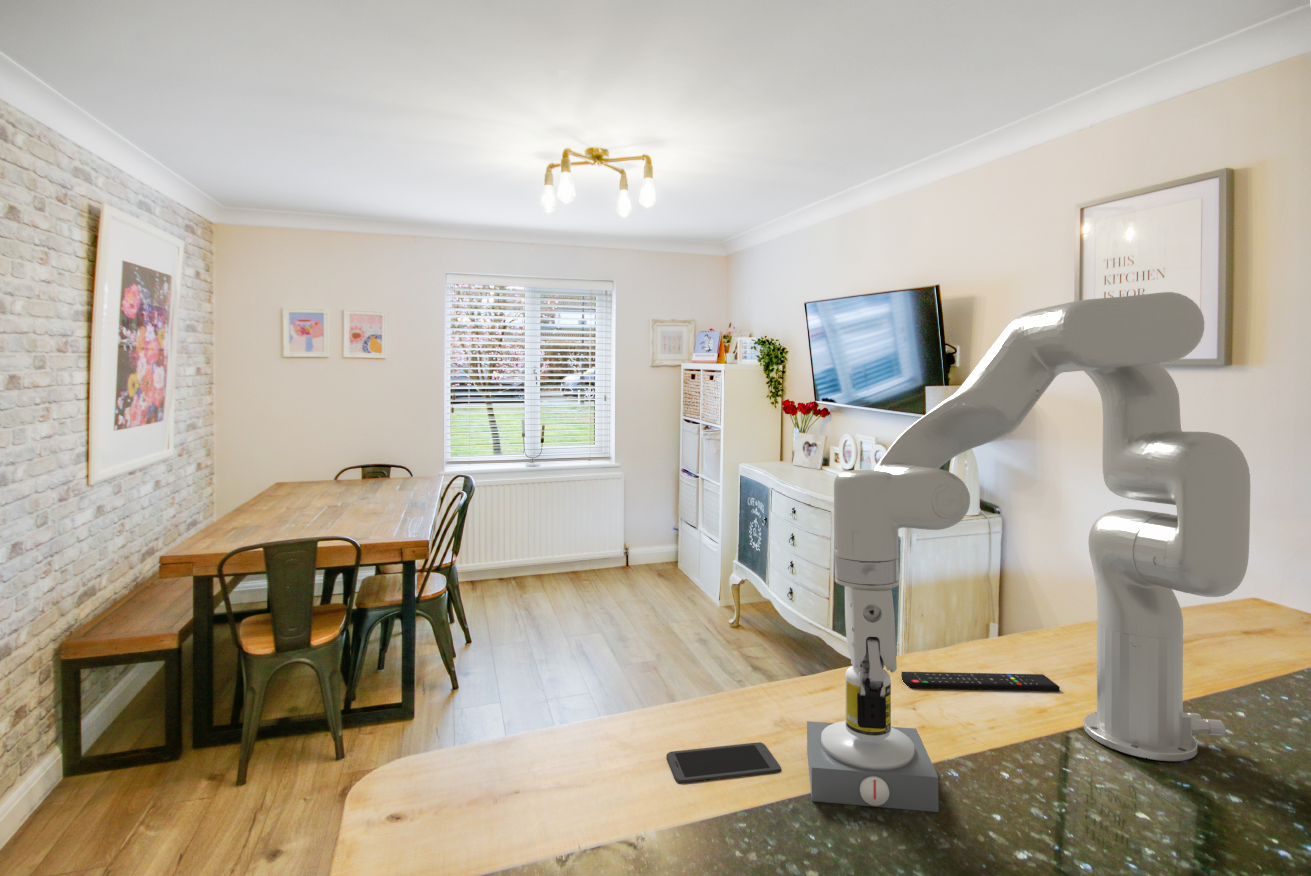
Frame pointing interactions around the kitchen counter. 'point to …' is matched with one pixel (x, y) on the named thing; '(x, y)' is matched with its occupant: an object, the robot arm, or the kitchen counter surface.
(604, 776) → the kitchen counter surface
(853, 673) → the supplement bottle
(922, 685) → the remote control
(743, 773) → the cell phone
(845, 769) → the kitchen scale
